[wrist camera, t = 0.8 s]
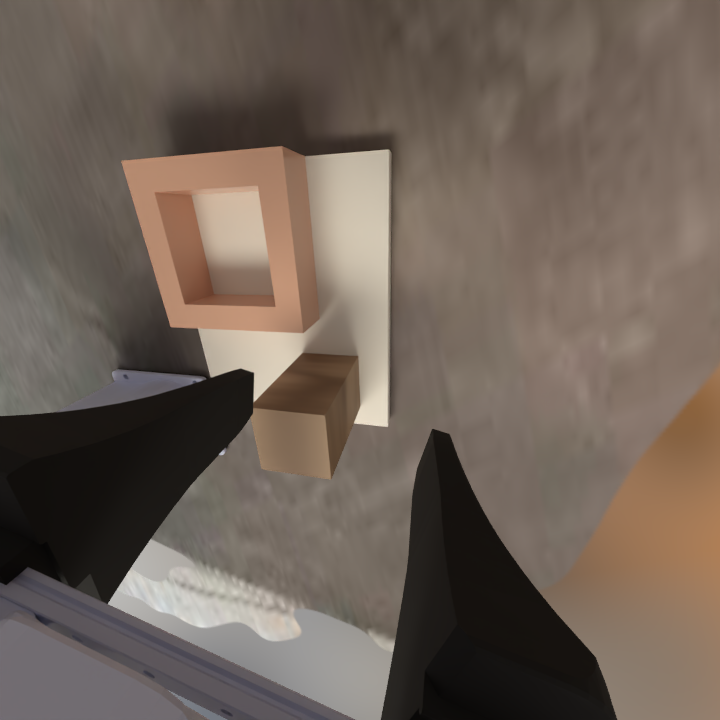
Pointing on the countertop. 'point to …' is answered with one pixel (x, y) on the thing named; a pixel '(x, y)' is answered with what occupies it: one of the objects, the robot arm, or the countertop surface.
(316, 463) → the walnut block
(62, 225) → the countertop surface
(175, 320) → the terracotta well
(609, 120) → the countertop surface
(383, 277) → the cream board
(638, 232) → the countertop surface
